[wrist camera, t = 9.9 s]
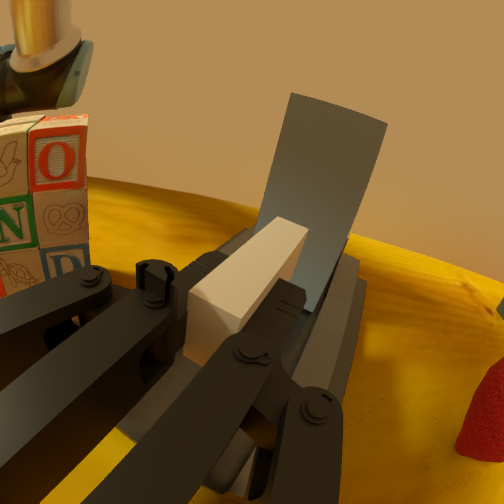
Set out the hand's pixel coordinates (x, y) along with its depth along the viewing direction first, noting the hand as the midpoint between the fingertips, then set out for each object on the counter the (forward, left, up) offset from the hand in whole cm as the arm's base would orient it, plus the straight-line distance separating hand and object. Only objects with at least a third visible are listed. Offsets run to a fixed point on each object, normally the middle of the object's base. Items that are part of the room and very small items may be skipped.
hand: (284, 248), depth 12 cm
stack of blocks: (-17, -11, -8) cm, 22 cm away
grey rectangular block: (0, +8, -8) cm, 11 cm away
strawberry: (+18, -1, -8) cm, 19 cm away
